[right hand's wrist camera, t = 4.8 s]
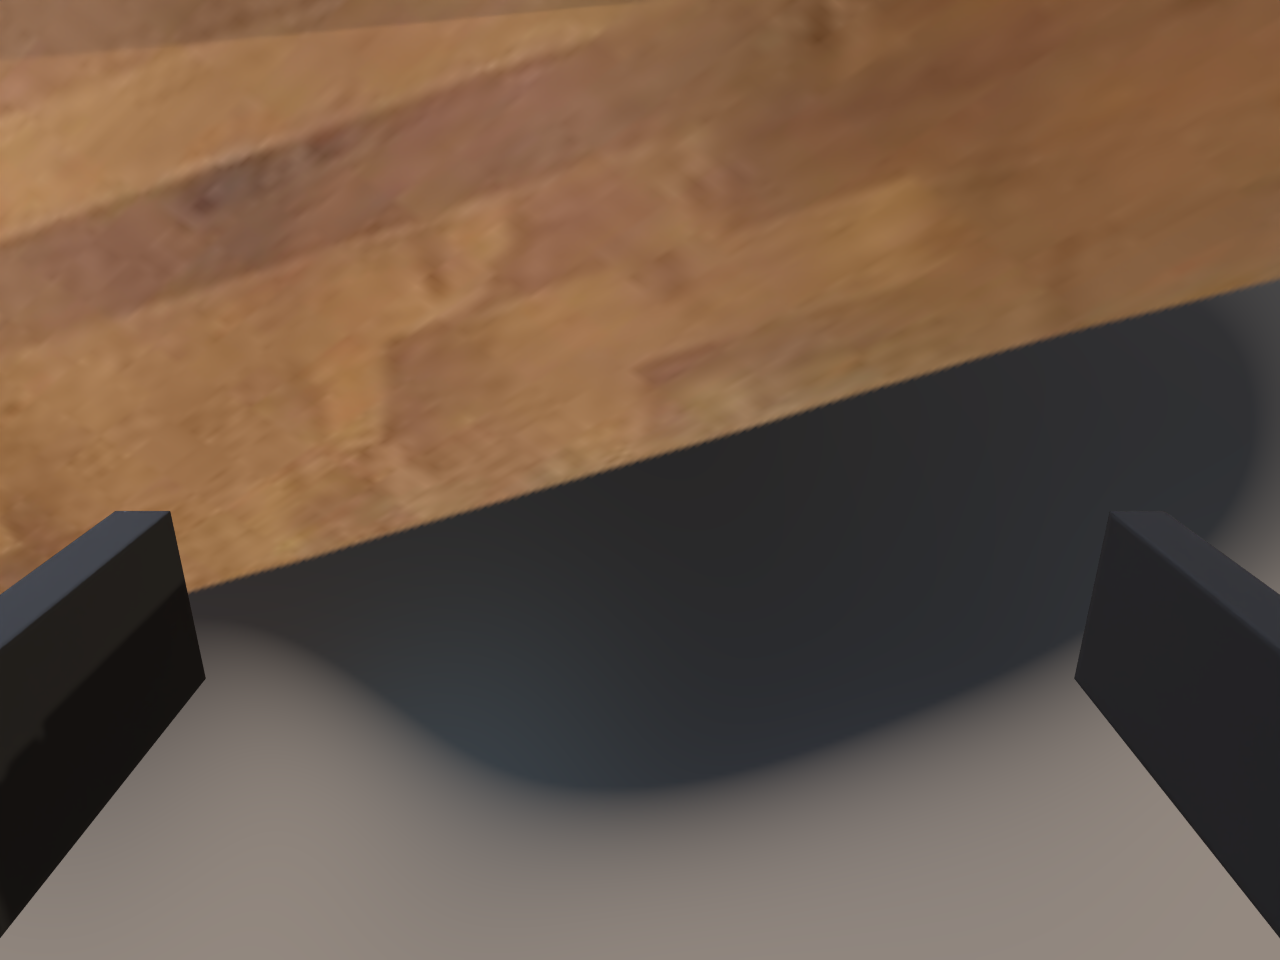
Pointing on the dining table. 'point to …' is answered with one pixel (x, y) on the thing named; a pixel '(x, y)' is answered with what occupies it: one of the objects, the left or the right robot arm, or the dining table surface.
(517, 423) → the dining table surface
